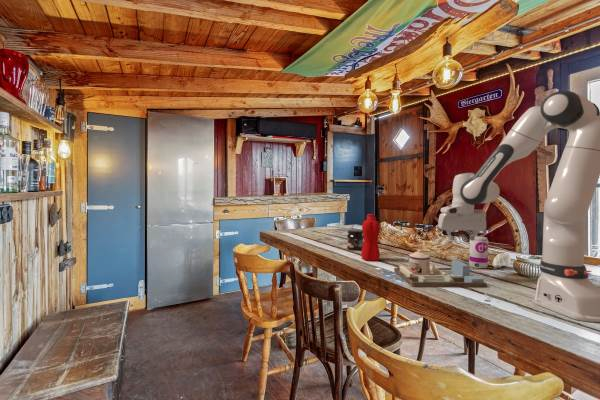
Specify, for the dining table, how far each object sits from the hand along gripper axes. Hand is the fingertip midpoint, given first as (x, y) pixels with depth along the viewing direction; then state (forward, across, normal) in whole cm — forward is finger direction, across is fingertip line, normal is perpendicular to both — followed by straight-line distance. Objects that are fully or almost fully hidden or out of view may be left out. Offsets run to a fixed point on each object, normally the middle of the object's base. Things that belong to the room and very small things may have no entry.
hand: (461, 240), depth 142 cm
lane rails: (+16, +12, +4) cm, 20 cm away
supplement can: (+16, -18, -17) cm, 29 cm away
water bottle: (+17, +32, -32) cm, 48 cm away
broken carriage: (+16, +10, +12) cm, 22 cm away
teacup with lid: (+17, +17, 0) cm, 24 cm away
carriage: (+16, +12, 0) cm, 20 cm away
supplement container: (+17, +36, -61) cm, 73 cm away
